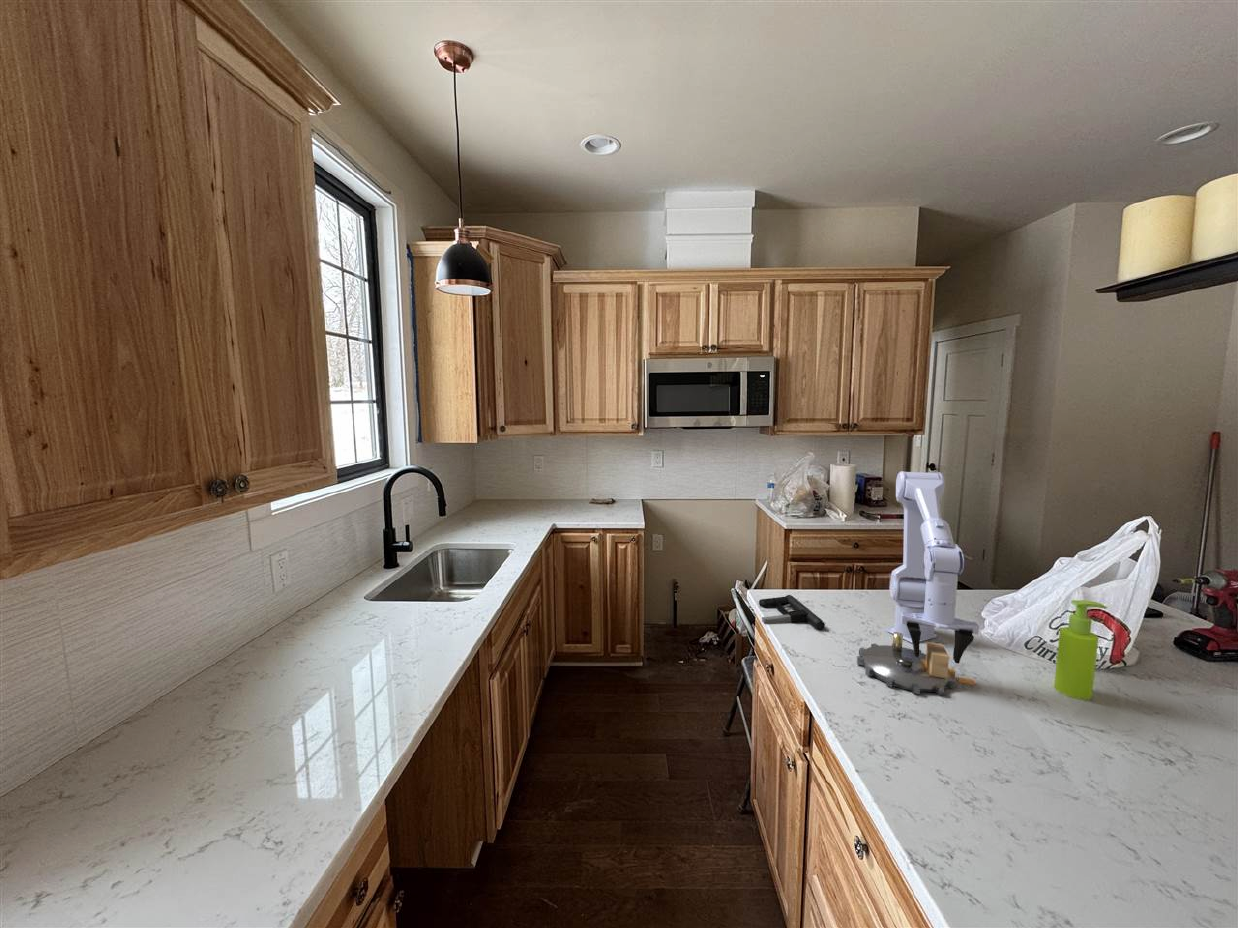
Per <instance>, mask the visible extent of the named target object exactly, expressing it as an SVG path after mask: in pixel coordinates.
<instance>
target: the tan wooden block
mask: <svg viewBox="0 0 1238 928" xmlns="http://www.w3.org/2000/svg"><path fill="white" fill-rule="evenodd" d="M925 654H926V665H927V667H928V670H929V672H930V674H931V676H935V677H941V678H947V675H948V669H949V661H950V658H949V657H950V656H949V654H948V652H947V651H946V648H945V647H944V645H943V644H941V643H936V642H929V641H927V642H926V651H925Z"/></svg>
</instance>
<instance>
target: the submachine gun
mask: <svg viewBox="0 0 1238 928" xmlns="http://www.w3.org/2000/svg"><path fill="white" fill-rule="evenodd" d="M758 605H759V607H760V608H763V609H767V608H775V609H776V610H777V611H778V612H779V613H780V614H781V615H780V614H779V615H771V616H764V617H762V618H761V622H762V623H763V624H764V625H766V624H767V625H768V624H769V625H770V624H788V623H791V624H805V623H809V624H810V626H811V627H813V628H814V629H816V630H818V631H822V630H823V629H824V628H825V627H826V623H825V622H824V620H822V618H820V617H819V616H818V615H816V613H815V612H813V611H812V610H811V609H809V608H808V607H807V606H805V605H804V604H803V603H802V602H801V601H799V598H796V597H795V596H793V595H791V594H787V595H785V596H780V597H779V596H777V597H771V598H770V597H769V598H760V599H759V601H758ZM788 607H790V609H792V610H787V608H788Z"/></svg>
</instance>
